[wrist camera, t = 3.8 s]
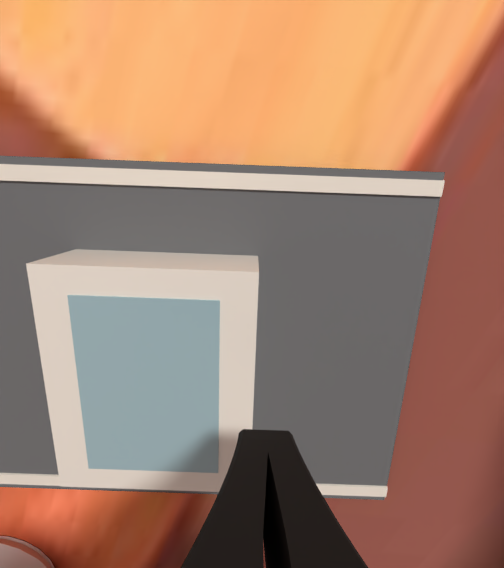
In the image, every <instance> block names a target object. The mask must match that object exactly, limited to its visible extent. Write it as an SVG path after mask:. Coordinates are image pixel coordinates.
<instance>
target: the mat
mask: <svg viewBox="0 0 504 568" xmlns="http://www.w3.org/2000/svg"><path fill="white" fill-rule="evenodd" d="M444 174H445V172H420V171H393V170H366V169H339V168H312V167H286V166H259V165H232V164H205V163H178V162H151V161H125V160H98V159H71V158H44V157H17V156H0V487H21V488H50V489H80V490H109V491H139V492H168V493H198V494H218V493H219V492H203V491H174V490H145V489H117V488H88V487H60V481H59V474H58V468H57V461H56V455H55V448H54V442H53V435H52V429H51V422H50V416H49V409H48V403H47V396H46V390H45V383H44V377H43V371H42V364H41V358H40V351H39V345H38V338H37V332H36V325H35V319H34V312H33V306H32V299H31V293H30V286H29V280H28V273H27V267H26V263H30V262H33V261H37V260H40V259H44V258H47V257H51V256H54V255H58V254H61V253H64V252H68V251H71V250H75V249H84V250H112V251H139V252H167V253H194V254H222V255H249V256H258V263H259V285H258V309H257V332H256V356H255V379H254V403H253V426H252V429H253V430H284V431H289V432H290V433H291V434H292V435H293V438H294V440H295V443H296V445H297V447H298V449H299V452H300V454H301V456H302V458H303V460H304V462H305V464H306V466H307V468H308V470H309V472H310V474H311V476H312V478H313V479H314V481H315V483H316V485H317V487H318V488H319V490H320V492H321V494H322V495H323V497H324V498H345V499H375V500H384V498H385V497H386V494H387V488H388V487H387V482H388V477H389V471H390V466H391V460H392V455H393V450H394V444H395V439H396V433H397V428H398V423H399V417H400V412H401V406H402V401H403V396H404V390H405V385H406V379H407V374H408V368H409V363H410V358H411V352H412V347H413V341H414V336H415V331H416V325H417V320H418V314H419V309H420V303H421V298H422V293H423V287H424V282H425V276H426V271H427V266H428V260H429V255H430V249H431V244H432V239H433V233H434V228H435V222H436V217H437V211H438V206H439V201H440V197H442V192H443V187H444V182H445V180H443V179H444Z"/></svg>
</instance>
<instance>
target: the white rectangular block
mask: <svg viewBox="0 0 504 568" xmlns="http://www.w3.org/2000/svg"><path fill="white" fill-rule="evenodd" d="M26 267H27V273H28V280H29V286H30V293H31V299H32V306H33V312H34V319H35V325H36V332H37V338H38V345H39V351H40V358H41V364H42V371H43V377H44V383H45V390H46V396H47V403H48V409H49V416H50V422H51V429H52V435H53V442H54V448H55V455H56V461H57V468H58V474H59V481H60V487H88V488H117V489H145V490H174V491H203V492H219V491H220V488H221V486H222V484H223V481H224V479H225V477H226V474H227V472H228V469H229V466H230V463H231V461H232V458H233V455H234V452H235V448H236V444H237V440H238V435H239V432H240V431H242V430H243V429H252V426H253V403H254V379H255V356H256V332H257V309H258V285H259V263H258V256H249V255H222V254H194V253H167V252H139V251H112V250H84V249H75V250H71V251H68V252H64V253H61V254H58V255H54V256H51V257H47V258H44V259H40V260H37V261H33V262H30V263H26Z"/></svg>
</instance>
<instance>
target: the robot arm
mask: <svg viewBox="0 0 504 568" xmlns="http://www.w3.org/2000/svg"><path fill="white" fill-rule="evenodd" d="M263 540H264V551H265V561H266V568H368V567H367V565H366V564H365V562H364V561H363V559H362V558H361V556H360V555H359V553H358V552H357V551H356V549H355V548H354V546H353V544H352V543H351V541H350V540H349V538H348V537H347V535H346V534H345V532H344V530H343V529H342V527H341V526H340V524H339V522H338V521H337V519H336V518H335V516H334V514H333V513H332V511H331V509H330V508H329V506H328V504H327V502H326V501H325V499H324V497H323V495H322V494H321V492H320V490H319V488H318V487H317V485H316V483H315V481H314V479H313V478H312V476H311V474H310V472H309V470H308V468H307V466H306V464H305V462H304V460H303V458H302V456H301V454H300V452H299V449H298V447H297V445H296V443H295V440H294V438H293V435H292V434H291V433H290V432H289V431H284V430H253V429H243V430H242V431H240V432H239V435H238V440H237V444H236V448H235V452H234V455H233V458H232V461H231V463H230V466H229V469H228V472H227V474H226V477H225V479H224V481H223V484H222V486H221V488H220V491H219V493H218V495H217V498H216V500H215V502H214V504H213V507H212V509H211V511H210V513H209V515H208V517H207V519H206V521H205V523H204V525H203V527H202V529H201V531H200V533H199V535H198V537H197V539H196V541H195V543H194V544H193V546H192V548H191V550H190V552H189V554H188V556H187V557H186V559H185V561H184V563H183V565H182V566H181V568H264V567H263Z"/></svg>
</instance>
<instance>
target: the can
mask: <svg viewBox="0 0 504 568" xmlns="http://www.w3.org/2000/svg"><path fill="white" fill-rule="evenodd" d="M0 568H54V566H53V564H52V562H51V560H50V559H49V558H48V557H47V556H46V555H45V554H44V553H43V552H42V551H41V550H40V549H38V548H36V547H34V546H33V545H31V544H29V543H27V542H26V541H23V540H19V539H16V538H13V537H9V536H0Z"/></svg>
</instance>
